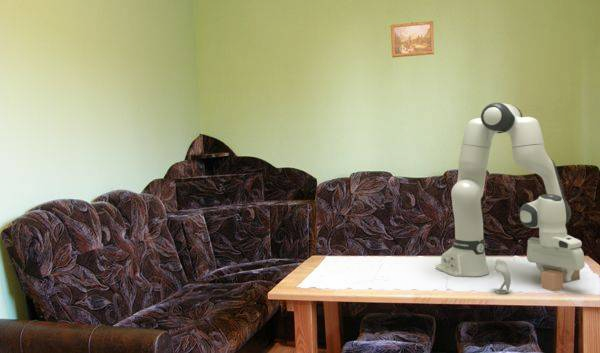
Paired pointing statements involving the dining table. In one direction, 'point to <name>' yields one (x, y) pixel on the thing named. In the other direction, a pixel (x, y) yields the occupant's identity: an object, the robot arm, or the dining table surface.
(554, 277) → the terracotta block
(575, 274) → the walnut block
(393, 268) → the dining table surface
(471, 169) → the robot arm
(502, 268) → the figurine
